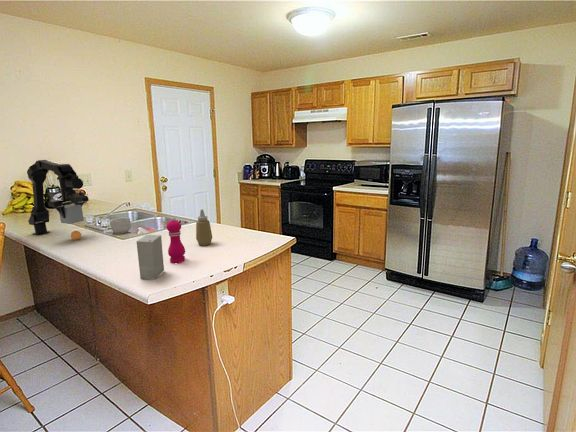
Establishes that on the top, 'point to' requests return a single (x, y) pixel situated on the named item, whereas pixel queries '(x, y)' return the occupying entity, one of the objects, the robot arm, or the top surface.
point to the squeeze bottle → (203, 230)
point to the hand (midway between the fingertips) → (71, 216)
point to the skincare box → (150, 256)
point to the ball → (75, 235)
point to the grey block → (72, 214)
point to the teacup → (120, 225)
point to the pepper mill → (175, 242)
